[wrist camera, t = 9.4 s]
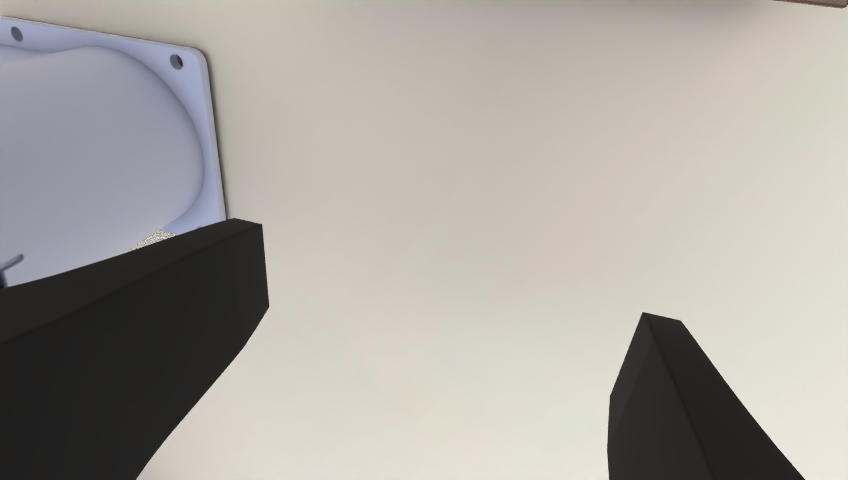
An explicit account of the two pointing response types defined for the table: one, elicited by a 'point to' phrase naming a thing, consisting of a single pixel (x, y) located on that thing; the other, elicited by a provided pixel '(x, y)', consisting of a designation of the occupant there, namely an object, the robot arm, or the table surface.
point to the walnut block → (821, 2)
